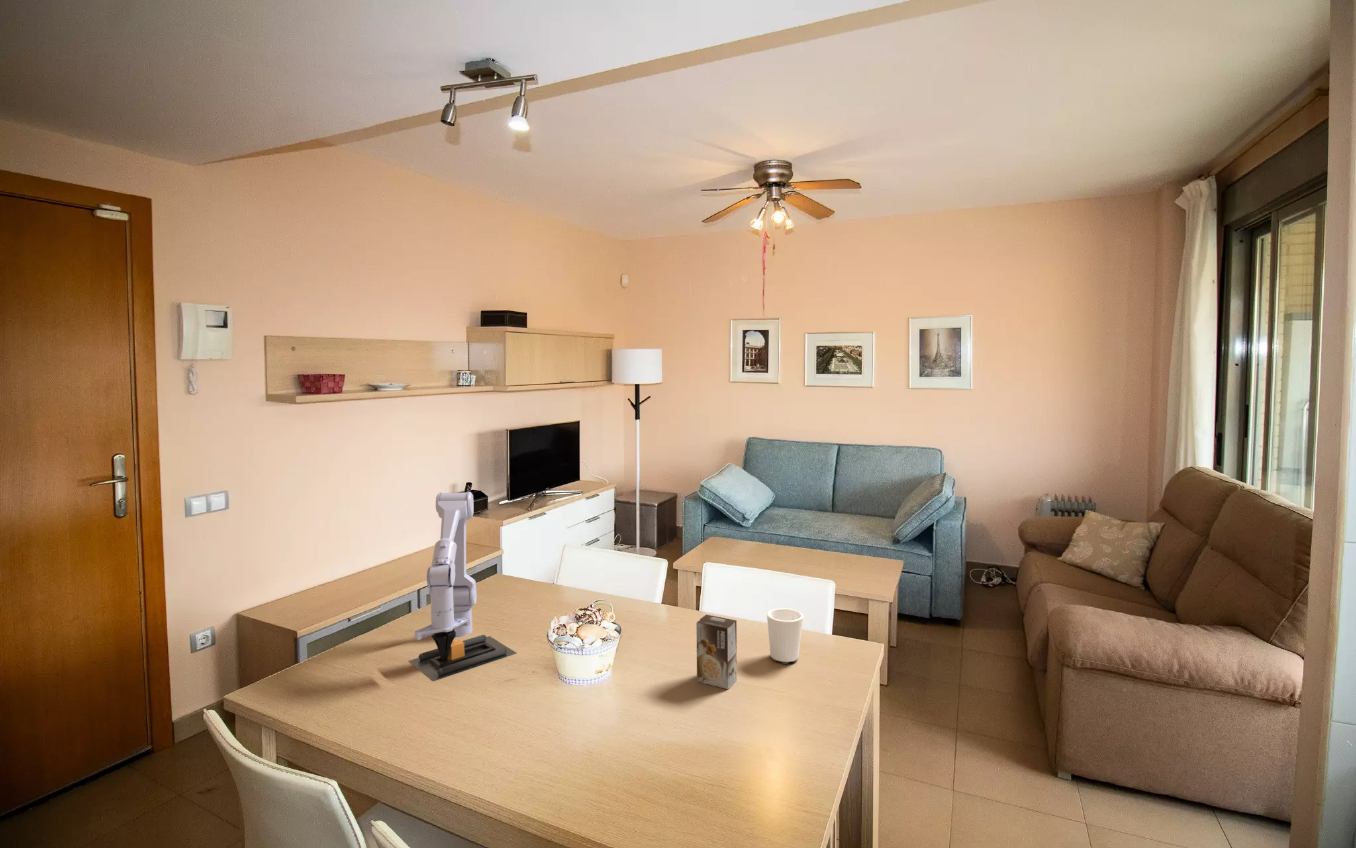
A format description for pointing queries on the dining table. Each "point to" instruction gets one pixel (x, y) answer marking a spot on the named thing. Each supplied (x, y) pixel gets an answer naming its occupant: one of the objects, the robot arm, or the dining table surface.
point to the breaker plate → (460, 659)
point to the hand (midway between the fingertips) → (444, 657)
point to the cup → (784, 634)
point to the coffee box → (717, 651)
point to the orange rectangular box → (456, 650)
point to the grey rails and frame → (469, 661)
